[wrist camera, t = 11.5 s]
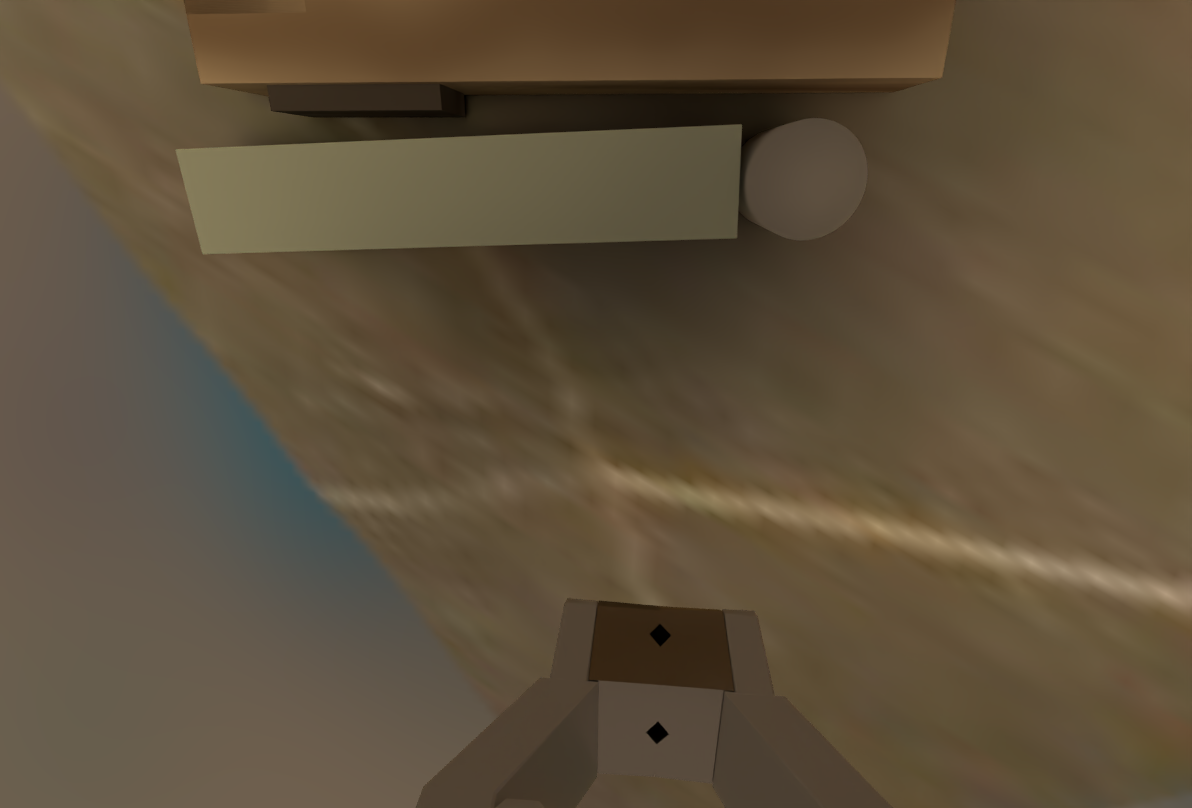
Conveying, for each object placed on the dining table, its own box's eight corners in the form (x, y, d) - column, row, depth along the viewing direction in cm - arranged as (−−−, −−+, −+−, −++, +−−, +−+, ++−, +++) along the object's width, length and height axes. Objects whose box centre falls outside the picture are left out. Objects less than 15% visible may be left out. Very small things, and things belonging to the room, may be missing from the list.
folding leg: (828, 125, 23) (874, 115, 18) (819, 225, 24) (860, 239, 20) (249, 150, 25) (158, 147, 20) (269, 242, 26) (188, 258, 22)
